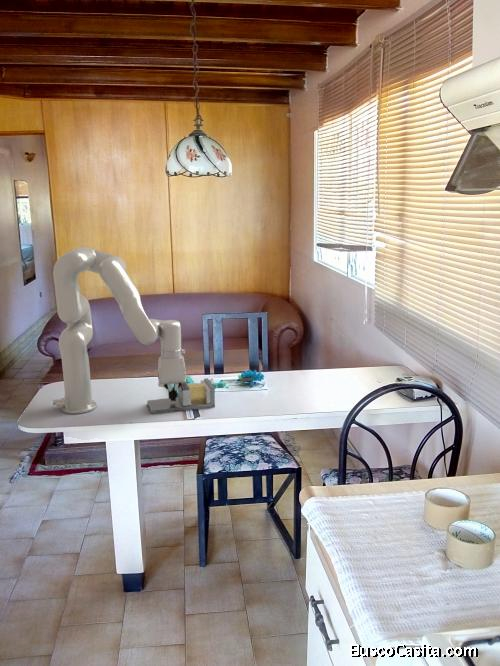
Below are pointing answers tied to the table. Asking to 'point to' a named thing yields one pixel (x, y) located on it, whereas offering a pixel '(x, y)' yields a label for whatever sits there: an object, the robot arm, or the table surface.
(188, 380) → the alien figure
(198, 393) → the brass block
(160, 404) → the vise bed
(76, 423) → the table surface
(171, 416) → the table surface
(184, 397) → the sliding jaw
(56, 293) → the robot arm
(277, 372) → the table surface
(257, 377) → the blue flower cluster
